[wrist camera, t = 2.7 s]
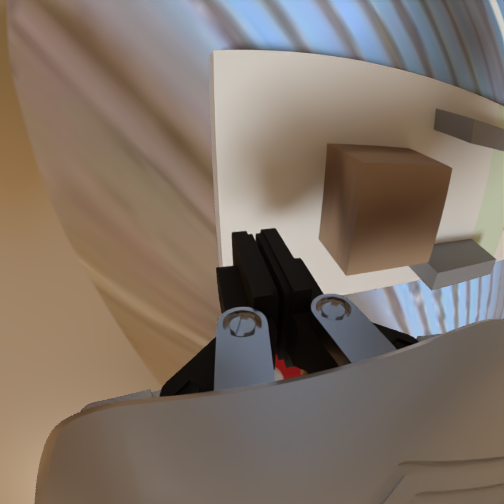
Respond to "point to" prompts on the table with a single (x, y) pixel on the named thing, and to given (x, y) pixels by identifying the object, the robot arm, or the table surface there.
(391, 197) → the walnut block
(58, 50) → the table surface
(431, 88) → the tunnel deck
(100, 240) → the table surface
